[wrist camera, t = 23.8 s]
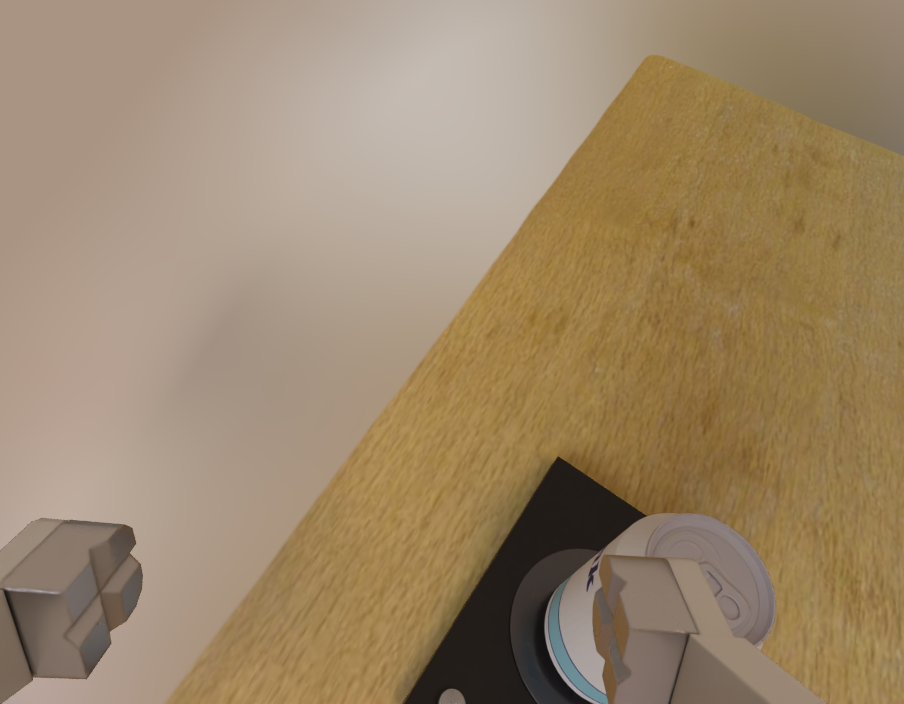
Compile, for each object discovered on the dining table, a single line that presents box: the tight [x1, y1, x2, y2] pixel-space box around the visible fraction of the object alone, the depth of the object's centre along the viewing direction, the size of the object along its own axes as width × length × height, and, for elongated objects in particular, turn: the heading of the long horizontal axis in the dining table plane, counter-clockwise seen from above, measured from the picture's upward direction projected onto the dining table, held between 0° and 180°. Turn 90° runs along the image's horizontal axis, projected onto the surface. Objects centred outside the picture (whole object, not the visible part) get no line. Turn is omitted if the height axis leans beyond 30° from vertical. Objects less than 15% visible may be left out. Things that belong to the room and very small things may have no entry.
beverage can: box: [545, 513, 776, 704], centre depth 29 cm, size 7×7×12 cm
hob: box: [403, 457, 647, 704], centre depth 34 cm, size 18×14×2 cm
